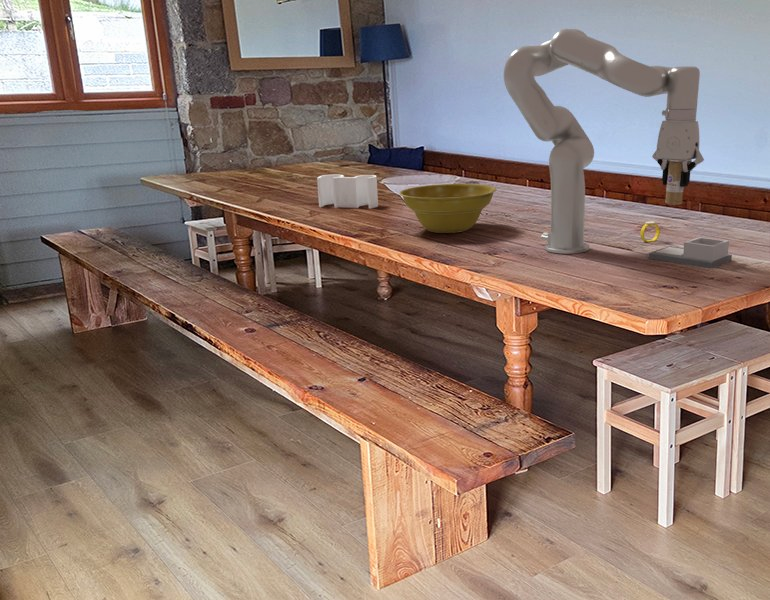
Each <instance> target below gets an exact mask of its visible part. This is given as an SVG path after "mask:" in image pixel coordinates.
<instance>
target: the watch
mask: <svg viewBox="0 0 770 600" xmlns="http://www.w3.org/2000/svg"><path fill="white" fill-rule="evenodd" d="M649 226H654V227H655V233H654V234H655V235H654V237H653V238H652V239H646V238H645V230H646V229H647V228H648V227H649ZM660 230H661V229H660V227H659V225H658V224H657V223H656V221H652V220H651V221H645V224H643V225H642V227H641V229H640V232H639V233H640V234H639V235H640V238H641V240H642V241H643V242H645V243H650V242H652V243H653V242H656V241H657V240H658V239H659V237H660V234H661V232H660Z"/></svg>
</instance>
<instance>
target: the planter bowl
mask: <svg viewBox="0 0 770 600" xmlns="http://www.w3.org/2000/svg"><path fill="white" fill-rule="evenodd" d="M496 192H497V188H495V187H494V186H489V185H485V184H475V183H474V184H473V183H442V184H430V185H429V184H428V185H422V186H421V185H420V186H419V185H418V186H415V187H409V188H404V189H403V190H401V191H399V192H398V194H399V196H402V199H403V201H404V203H405V205H406V207H407V208H409V209H410V210H411V211H413V213H414V214H415V216H416V218H417V220H418V222H419V223H420V224H421V226H422V227H423V228H424V229H426V230H427V231H428V232H432V233H437V234H438V233H439V234H452V233H453V234H455V233H461V232H467V231H469V230H470V229H471V228H472V227H474V226H475V224H476V223H477V222H478V219H479V217H480V216H481V214H482V211H483V209H485V207H487V206H488V205H489V204H490V203H491V200H492V198H493V196H494V193H496Z"/></svg>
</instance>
